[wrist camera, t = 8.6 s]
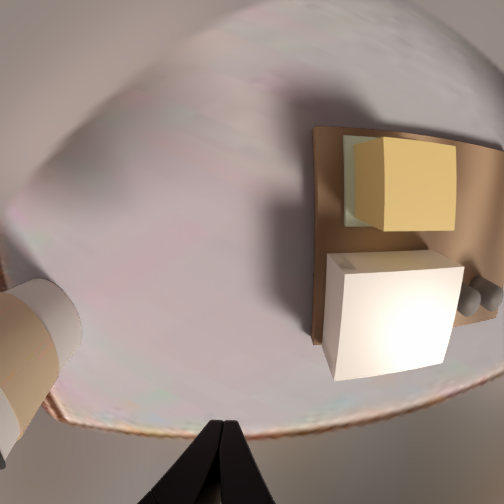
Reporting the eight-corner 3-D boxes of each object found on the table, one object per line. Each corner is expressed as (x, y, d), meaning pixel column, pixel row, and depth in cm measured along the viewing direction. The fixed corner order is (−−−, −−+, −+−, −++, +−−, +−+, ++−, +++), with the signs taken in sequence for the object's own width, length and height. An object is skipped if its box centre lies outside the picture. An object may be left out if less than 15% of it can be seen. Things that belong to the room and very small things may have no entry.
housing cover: (431, 249, 16) (464, 266, 13) (417, 334, 18) (442, 362, 14) (327, 253, 16) (344, 274, 13) (321, 346, 18) (333, 381, 14)
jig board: (505, 154, 15) (535, 154, 12) (489, 312, 19) (512, 330, 15) (312, 128, 16) (325, 118, 12) (310, 337, 19) (320, 366, 16)
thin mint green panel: (419, 142, 15) (422, 142, 14) (419, 225, 16) (421, 226, 16) (342, 135, 15) (344, 135, 15) (344, 225, 16) (345, 226, 16)
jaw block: (416, 150, 15) (455, 146, 11) (416, 217, 16) (454, 230, 12) (353, 144, 15) (383, 136, 11) (354, 217, 16) (383, 231, 12)
